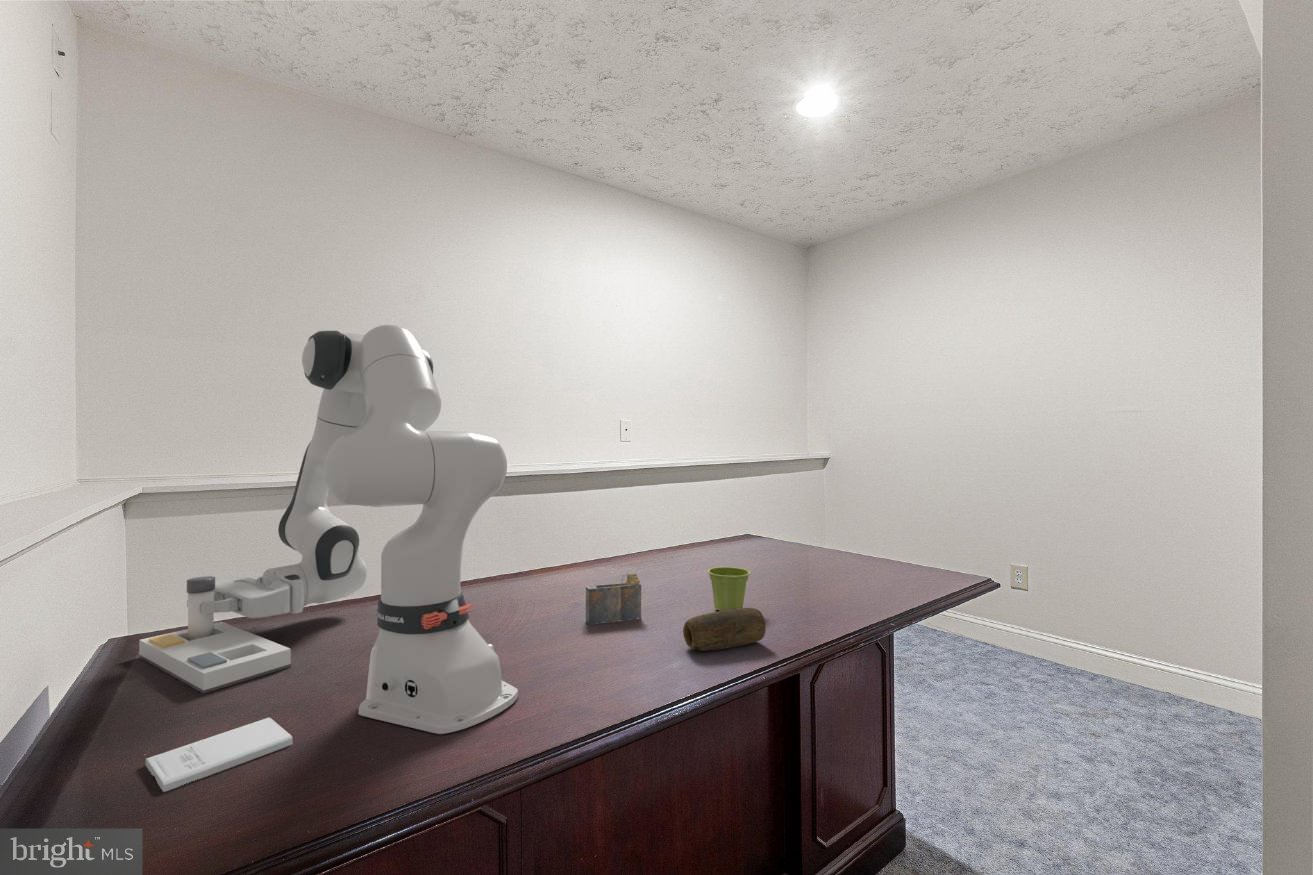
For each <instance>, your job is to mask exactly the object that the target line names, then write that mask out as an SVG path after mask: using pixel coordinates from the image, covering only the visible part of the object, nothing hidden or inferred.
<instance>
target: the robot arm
mask: <svg viewBox="0 0 1313 875" xmlns="http://www.w3.org/2000/svg"><path fill="white" fill-rule="evenodd" d="M301 361H302V362H301V363H302V368H303V371H304V375H305V378H306V379H307V381H308V382H309V383H310V384H311V385H313V386H315V387H318V388H320V389H321V388H322V390H323V391H322V394H321V397H320V401H319V405H318V408H317V409H318V410H317V414H316V421H315V426H314V429H313V430H314V431H313V435H312V438H311V440H310V442H309V443H308V445H307V447H306V449H305V451H304V455H303V458H302V462H301V466H300V469H299V472H298V476H297V480H296V484H295V488H294V490H293V495H292V499H291V501H290V502H289V505H288V507H287V508H286V510H285V512H284V513H283V514H282V517H281V519H280V521H279V524H278V529H277V530H278V536H279V539H280V541H281V542H282V543H283V544H284V545H285V546H287V547H289V548H290V549H292V550H294V551H297V552H298V553H299V554H300V555H301V556H302V557H301V561H300V562H298V563H295V564H290V565H283V566H277V567H272V568H268V569H266V570H265V571H264V572H263V574H262V576H258V577H257V579H256V578H252V577H240V578H239V577H238V578H237V577H236V578H232V579H231V578H230V579H223V580H215V589H214V602H213V601H210V602H205V603H201V604H200V613H203V614H210V613H214V614H215V613H216V614H217V613H229V612H230V613H231V612H232V613H236V614H238V615H241V616H243V617H246V618H248V619H262V618H268V617H274V616H280V615H286V614H289V615H297V614H301V613H302V612H304V607H307V606H308V605H312V604H317V605H318V604H324V603H330V602H332V601H336V600H340V599H343V598H346V597H348V596H351V595H353V594H354V593H356V592H358V591H359V590H360V589H361V588H362V587H363V586H364V585H365V582H366V579H367V573H368V568H367V564H366V562H365V560H364V559H363V558H362V557H361V554H360V550H359V547H360V537H359V536H360V535H359V533H358V532H357V530H356V529H355V528H354V527H353V526H351V525H349V524H348V523H347V522H345V521H344V520H342V519H340V518H339V517H337V516H335V515H334V514H333V513H331V511H330V509H329V507H328V503H327V500H328V496H329V492H330V493H331V494H332V495H333V497H335V499H337V501H338V502H340V503H341V504H345V505H346V504H348V505H354V506H363V507H370V508H371V507H372V508H383V507H397V506H399V507H401V506H415V505H422V509H421V513H420V514H419V516H418V517H417V519H416V521H415V522H414V523H413V524H412V525H410V526H408V527H407V528H405V529H403V530H401V531H399V532H397V533H396V534H395V535H394V536H392V537H391V538H390V539H389V540H388V541H387V542H386V544H385V546H384V547H383V549H382V552H381V556H380V557H381V558H380V559H381V561H380V562H381V564H380V565H381V566H380V567H381V568H380V570H381V571H380V575H381V576H380V578H381V579H380V581H381V582H380V584H381V585H380V598H379V599H378V601H377V608H376V616H377V618H376V620H377V623H376V624H377V626H378V628H379V631H378V632H379V633H378V634H377V637H376V640H375V642H374V644H373V646H372V649H371V651H370V655H369V665H368V666H369V667H368V675H367V686H366V697H365V699H364V700H363V701H362V702H360V704H359V706H358V715H359V716H361V717H366V718H370V719H374V720H378V721H382V722H387V723H390V724H391V723H392V724H395V725H399V726H403V727H406V728H407V727H408V728H413V729H416V730H420V731H424V732H428V733H432V734H437V735H444V734H449V733H454V732H457V731H461V730H464V729H468V728H470V727H472V726H475V725H477V724H480V723H482V722H484V721H486V720H488V719H491V718H493V717H495V716H496V715H498V714H500V713H501V712H504V710H507V709H508V708H510V707H511V705H513V704H514V703H515V702H516V701H517V699H518V698H519V690H518V688H517V687H515V686H513V685H512V684H510V683H508V682H506V681H504V680H503V679H502V669H501V662H500V658H499V656H498V654H497V653H496V652H495V651H496V650H495V647H494V645H493V644H491V643H487V642H486V641H485V639H484V638H483V637H482V635H481V634H480V633H479V631H477V630H476V628H475V627H474V626H473V625H472V624H471V622H470V621H469V617H470V616H469V613H470V612H473V609H469V608H471V607H472V606H473V605H474V604H473V603H469V604H466V600H465V596H464V593H463V591H461V581H462V580H461V576H462V575H461V572H462V560H463V559H462V558H463V548H464V543H465V538H466V535H467V532H468V529H469V527H470V526H471V523H472V521H473V520H474V517H475V516H476V514H477V513H478V512H479V510H480V508H481V507H482V506H483V505H484V504H485V503H486V502H487V501H488V500H489V499H490V498H491V497H493V496H494V495H495V494H496V493H497V492H498V491H499V490H500V489H501V487H502V486H503V484H504V481H505V479H506V476H507V471H508V461H507V456H506V453H505V451H504V449H503V447H502V446H501V444H500V442H498V440H497V439H495V438H494V437H491V436H488V435H483V434H479V433H473V432H469V431H443V430H441V431H440V430H439V431H431V430H428V429H429V428H430V427H431V426H432V425H433V424H435V422H436V421H437V419H438V418H439V415H440V413H441V408H442V400H441V396H440V392H439V391H438V390H439V389H438V386H437V384H436V383H437V382H436V381H435V376H434V363H433V359H432V358H431V355H430V354H429V353H428V352H427V351H426V350H425V349H423V348H422V346H421V345H420V344H419V342H418V340H417V339H416V337H415V336H414V335H413V334H412V333H411V332H410V331H409V330H408V329H406V328H403V327H402V326H398V325H396V324H395V325H394V324H384V325H383V324H382V325H378V326H376V327H373V328H371V329H370V330H368V331H367V332H366V333H364V334H359V333H347V332H340V331H338V330H320V331H317V332H315V333H314V334H312V335H310V337H308V340H307V342H306V344H305V345H304V348H303V350H302V356H301ZM427 430H428V431H427ZM186 607H187V608H188V599H187V601H186Z"/></svg>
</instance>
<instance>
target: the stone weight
mask: <svg viewBox="0 0 1313 875" xmlns="http://www.w3.org/2000/svg"><path fill="white" fill-rule="evenodd" d="M766 627H767V626H766V620H765V618H764V616H763V613H762V612H761V611H760V610H759V609H757V608H754V607H743V608H739V609H732V610H725V611H714V612H710V613H705V614H701V615H697V616H694V617H692V618H689V619H688V620H686V621H685V623H684V625H683V627H682V628H683V629H682V633H683V634H682V635H683V639H684V642H685V643H686V645H687V646H688V647H689V648H690V649H691V650H694V651H696V650H698V651H701V652H702V651H703V652H704V651H714V650H715V649H718V650H723V648H724V649H728V648H727V647H730V648H735V647H734V646H737V647H740V646H739V645H742V646H745V645H750V644H753V643H756V642H759V641H761V640H762V639H764V637H765V634H766V630H767V629H766ZM715 651H716V650H715Z"/></svg>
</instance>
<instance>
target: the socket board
mask: <svg viewBox="0 0 1313 875" xmlns="http://www.w3.org/2000/svg"><path fill="white" fill-rule="evenodd" d="M138 644H139V647H138V648H139V649H138V651H139V653H138V654H139V656H138V657H139V658H140V659H141V660H144V661H145V662H147V663H149V664H150V665H152V666H154V667H156V668H158V669H159V670H161V671H163V672H164V673H166V674H168V675H169V676H171V677H173V678H175V679H176V680H179V681H180V682H182V683H184V684H186V685H187V686H189V687H191V688H193V689H194V690H196V691H199V692H200V693H201V694H208V693H210V692H213V691H217V690H221V689H224V688H226V687H227V688H228V687H230V686H234V685H237V684H241V683H243V682H246V681H250V680H253V679H256V678H259V677H260V678H261V677H263V676H266V675H269V674H272V673H275V672H279V671H282V670H285V669H289V668H291V664H292V662H291V660H292V658H291V657H292V655H291V654H292V652H291V651H292V649H291V648H289V647H288V646H285V645H282V644H279V643H277V642H275V641H272V640H269V639H267V638H264V637H263V636H259V635H257V634H254V633H252V632H249V631H246V630H244V629H242V628H239V627H237V626H234V625H232V624H229V623H227V622H224V621H216V622H214V635H211V636H207V637H203V638H199V639H195V640H190V641H188V628H186V629H182V630H177V631H172V632H169V633H163V634H161V635H156V636H150V637H146V638H141V639H139V643H138Z"/></svg>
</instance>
